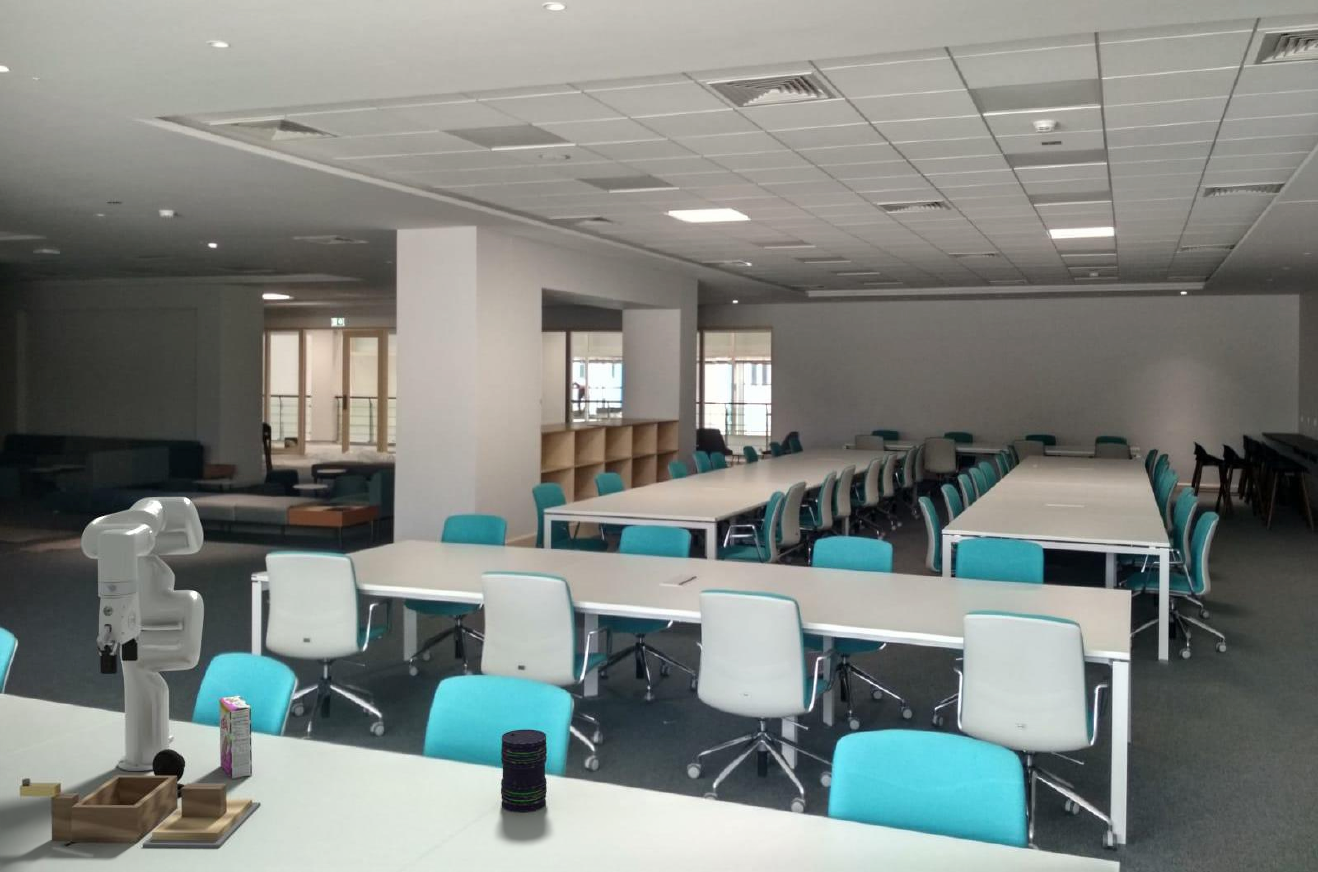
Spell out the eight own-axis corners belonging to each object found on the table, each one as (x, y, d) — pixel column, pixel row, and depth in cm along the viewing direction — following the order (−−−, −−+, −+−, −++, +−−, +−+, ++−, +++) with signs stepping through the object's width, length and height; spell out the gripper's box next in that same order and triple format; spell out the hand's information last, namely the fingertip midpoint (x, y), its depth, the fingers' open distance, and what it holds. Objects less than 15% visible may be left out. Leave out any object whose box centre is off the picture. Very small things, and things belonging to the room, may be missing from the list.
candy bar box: (218, 766, 261) (218, 698, 260) (240, 762, 263) (240, 694, 263) (230, 780, 251) (229, 709, 251) (252, 776, 254) (252, 706, 254)
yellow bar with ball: (25, 792, 219) (25, 777, 219) (60, 793, 219) (60, 778, 219) (19, 796, 217) (19, 781, 217) (55, 796, 217) (55, 781, 217)
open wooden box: (96, 807, 234) (96, 768, 234) (177, 808, 234) (177, 768, 234) (49, 842, 216) (49, 799, 216) (137, 842, 216) (137, 800, 216)
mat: (190, 804, 236) (190, 802, 236) (260, 805, 236) (260, 802, 236) (142, 847, 214) (142, 844, 214) (219, 847, 214) (219, 844, 214)
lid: (191, 805, 235) (191, 770, 234) (252, 806, 234) (252, 771, 234) (152, 839, 217) (151, 802, 216) (218, 840, 216) (217, 802, 216)
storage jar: (555, 800, 241) (555, 733, 240) (531, 816, 232) (531, 746, 231) (516, 793, 245) (516, 727, 244) (491, 808, 236) (492, 739, 235)
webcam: (195, 790, 245) (194, 746, 244) (170, 802, 238) (169, 757, 237) (167, 786, 247) (166, 742, 247) (141, 798, 240) (141, 753, 240)
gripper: (117, 596, 225) (119, 678, 226) (153, 579, 242) (154, 656, 243) (80, 596, 224) (81, 678, 226) (118, 579, 242) (120, 655, 243)
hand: (119, 666), depth 234 cm, fingers open, 9 cm apart
